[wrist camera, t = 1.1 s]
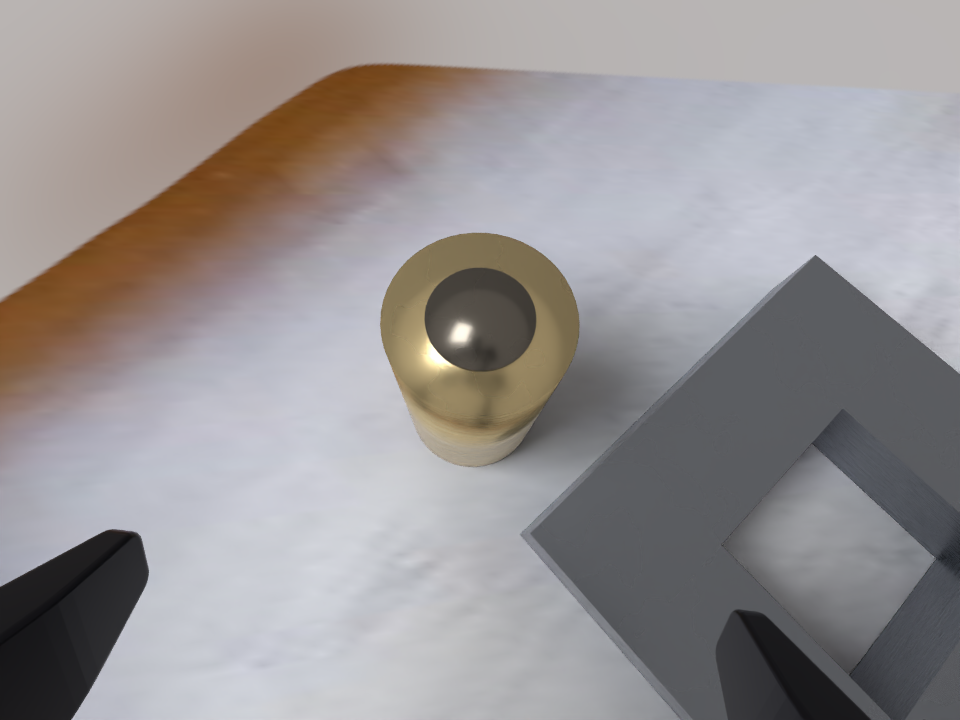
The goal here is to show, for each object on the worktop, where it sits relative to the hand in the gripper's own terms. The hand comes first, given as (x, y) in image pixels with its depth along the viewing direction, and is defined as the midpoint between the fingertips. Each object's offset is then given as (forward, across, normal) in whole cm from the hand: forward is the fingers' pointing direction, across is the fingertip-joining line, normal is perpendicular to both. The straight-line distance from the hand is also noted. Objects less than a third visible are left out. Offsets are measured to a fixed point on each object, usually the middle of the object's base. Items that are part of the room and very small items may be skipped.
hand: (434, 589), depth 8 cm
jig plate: (+10, -14, +7) cm, 19 cm away
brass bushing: (+13, 0, +5) cm, 14 cm away
